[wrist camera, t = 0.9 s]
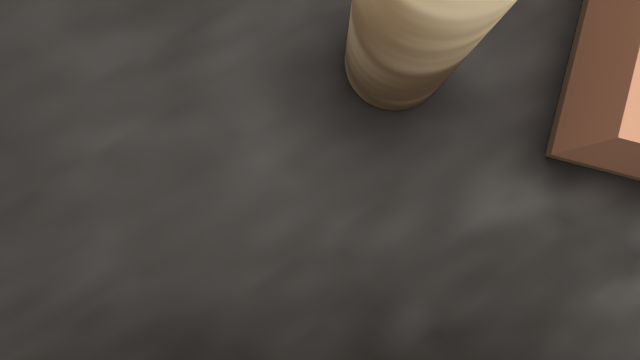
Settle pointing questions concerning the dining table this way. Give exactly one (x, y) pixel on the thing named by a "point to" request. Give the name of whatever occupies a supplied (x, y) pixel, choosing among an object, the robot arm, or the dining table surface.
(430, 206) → the dining table surface
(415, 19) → the birch dowel
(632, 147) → the socket block
